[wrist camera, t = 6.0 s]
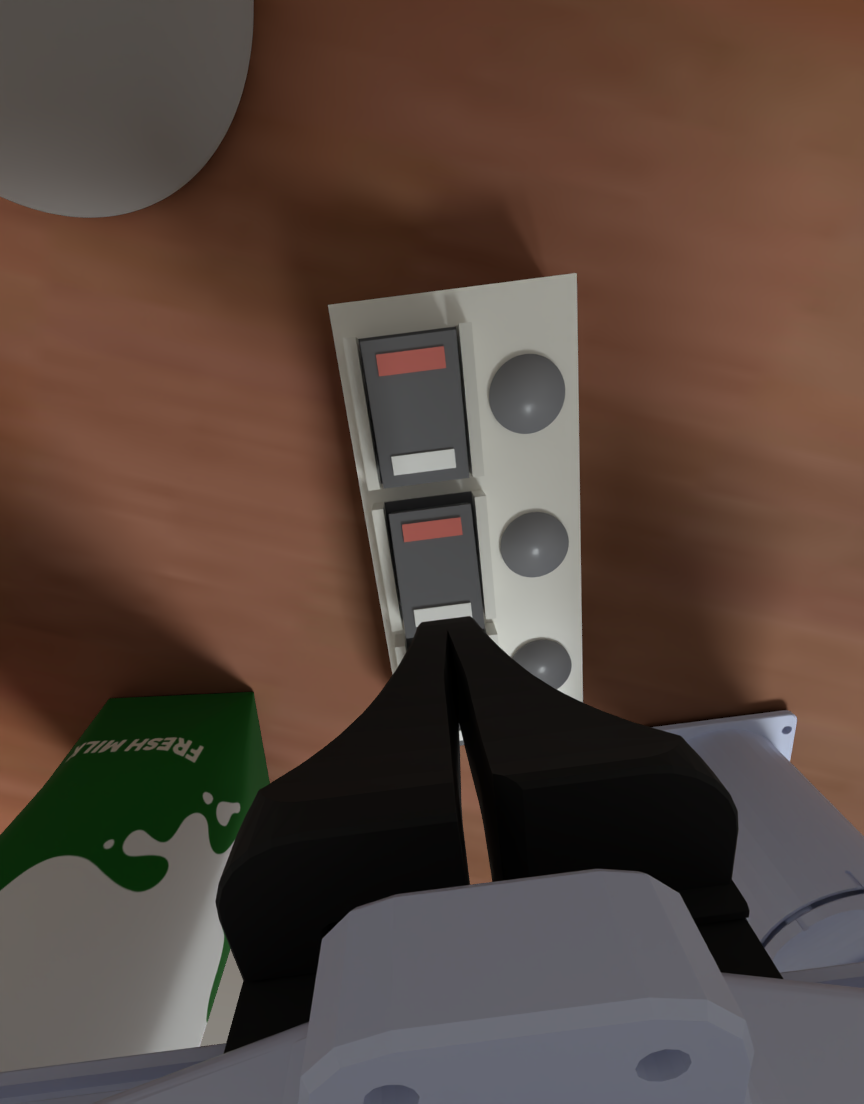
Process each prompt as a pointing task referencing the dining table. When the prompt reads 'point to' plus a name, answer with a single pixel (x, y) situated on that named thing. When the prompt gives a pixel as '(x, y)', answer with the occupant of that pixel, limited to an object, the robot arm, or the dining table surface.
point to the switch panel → (490, 459)
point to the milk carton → (125, 881)
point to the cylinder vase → (115, 98)
